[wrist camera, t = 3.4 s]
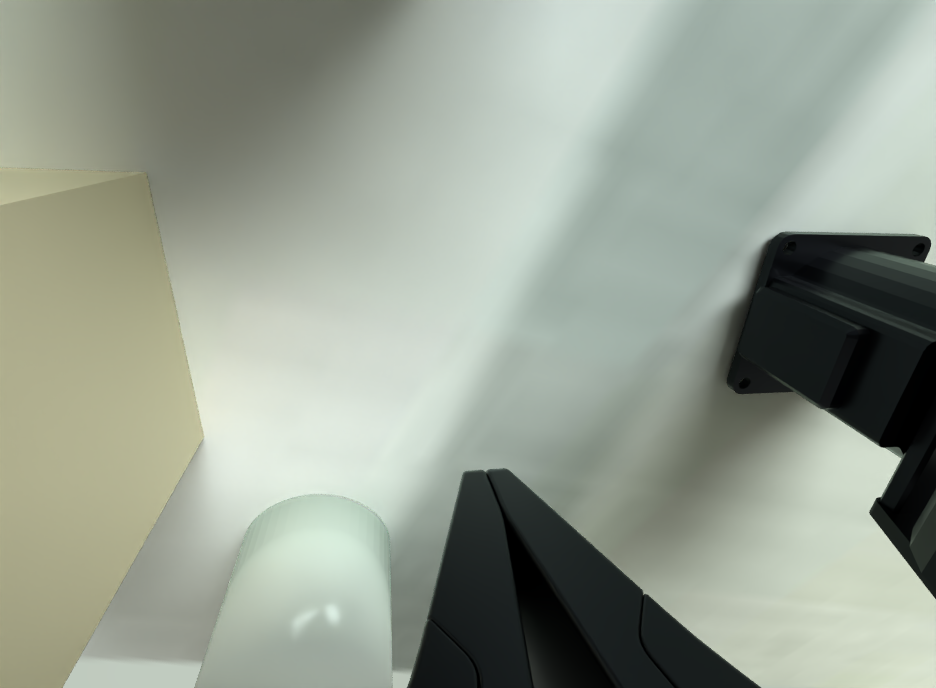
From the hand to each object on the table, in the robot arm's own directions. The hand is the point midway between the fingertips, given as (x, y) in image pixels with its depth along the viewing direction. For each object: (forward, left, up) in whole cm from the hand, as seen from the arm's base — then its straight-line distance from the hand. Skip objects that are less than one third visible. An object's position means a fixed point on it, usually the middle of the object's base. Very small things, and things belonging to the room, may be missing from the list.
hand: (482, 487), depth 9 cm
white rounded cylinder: (+5, +10, -9) cm, 14 cm away
